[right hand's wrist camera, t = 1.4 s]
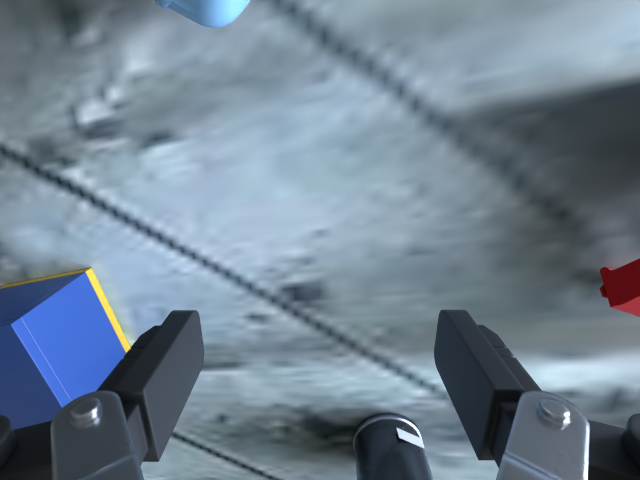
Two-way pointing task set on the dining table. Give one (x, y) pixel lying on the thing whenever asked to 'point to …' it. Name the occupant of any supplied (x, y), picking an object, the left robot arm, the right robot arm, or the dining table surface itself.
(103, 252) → the dining table surface
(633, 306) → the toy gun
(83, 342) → the cabinet
